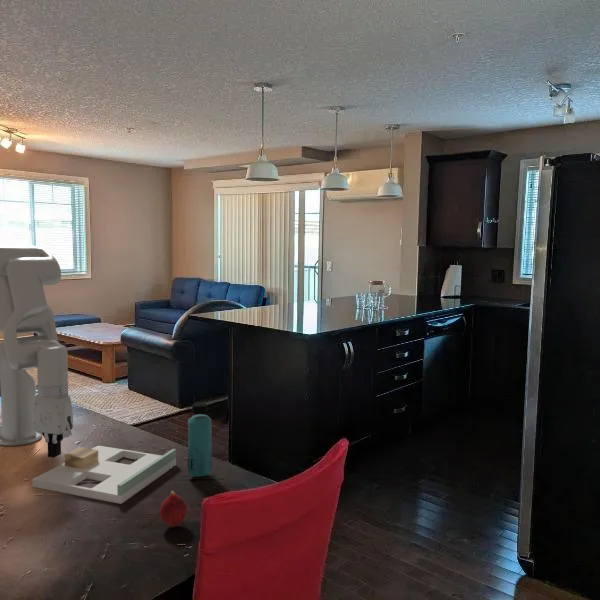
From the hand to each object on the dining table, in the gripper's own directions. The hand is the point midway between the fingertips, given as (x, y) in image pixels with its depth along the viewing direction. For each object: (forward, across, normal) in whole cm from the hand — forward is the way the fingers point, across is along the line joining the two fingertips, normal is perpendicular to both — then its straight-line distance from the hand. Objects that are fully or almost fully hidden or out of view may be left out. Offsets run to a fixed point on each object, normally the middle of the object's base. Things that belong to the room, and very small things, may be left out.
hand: (54, 455), depth 151 cm
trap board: (+3, +17, 0) cm, 18 cm away
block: (+1, +9, 0) cm, 9 cm away
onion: (+3, +47, -17) cm, 51 cm away
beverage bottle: (+3, +40, +8) cm, 41 cm away
